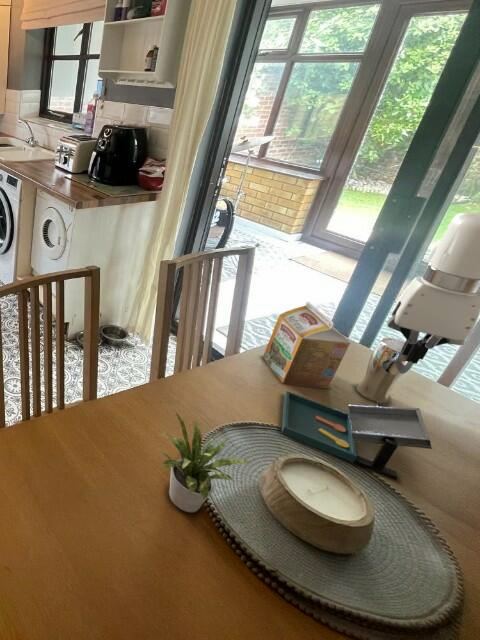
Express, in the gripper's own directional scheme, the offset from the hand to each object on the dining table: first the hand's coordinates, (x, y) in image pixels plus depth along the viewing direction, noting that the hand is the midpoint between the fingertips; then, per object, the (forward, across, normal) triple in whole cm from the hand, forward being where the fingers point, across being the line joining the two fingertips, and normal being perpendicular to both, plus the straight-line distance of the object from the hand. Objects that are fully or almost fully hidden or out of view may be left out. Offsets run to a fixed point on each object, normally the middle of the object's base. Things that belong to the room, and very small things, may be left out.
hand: (409, 358), depth 83 cm
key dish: (+14, 0, +6) cm, 15 cm away
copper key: (+20, +7, +4) cm, 21 cm away
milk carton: (+20, +14, -14) cm, 28 cm away
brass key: (+20, +7, +8) cm, 22 cm away
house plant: (+20, +31, +43) cm, 57 cm away
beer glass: (+20, -2, -16) cm, 26 cm away
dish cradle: (+20, 0, +6) cm, 21 cm away
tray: (+20, +10, +6) cm, 23 cm away
